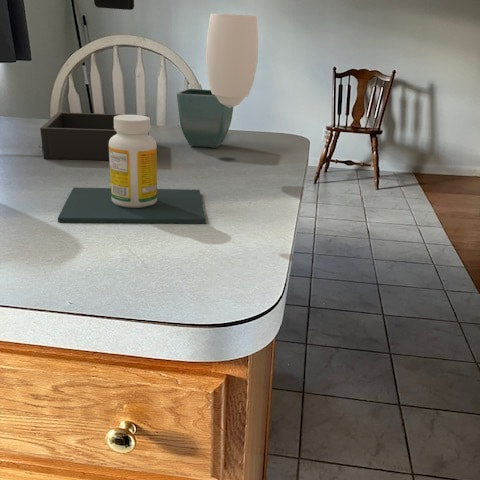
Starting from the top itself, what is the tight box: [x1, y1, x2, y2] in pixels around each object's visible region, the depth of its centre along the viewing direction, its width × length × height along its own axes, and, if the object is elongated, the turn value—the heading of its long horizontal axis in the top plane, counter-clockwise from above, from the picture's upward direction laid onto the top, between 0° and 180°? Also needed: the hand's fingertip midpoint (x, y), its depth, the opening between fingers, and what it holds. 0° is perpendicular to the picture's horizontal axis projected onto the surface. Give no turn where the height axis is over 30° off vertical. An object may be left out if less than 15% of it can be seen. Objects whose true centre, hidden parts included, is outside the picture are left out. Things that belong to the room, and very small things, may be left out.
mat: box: [57, 187, 207, 225], centre depth 65 cm, size 16×12×1 cm
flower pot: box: [176, 88, 234, 149], centre depth 96 cm, size 9×9×9 cm
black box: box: [39, 111, 150, 161], centre depth 90 cm, size 16×16×4 cm
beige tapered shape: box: [205, 12, 259, 108], centre depth 78 cm, size 7×7×21 cm
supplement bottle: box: [108, 114, 158, 208], centre depth 62 cm, size 5×5×10 cm
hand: (115, 8), depth 56 cm, fingers open, 9 cm apart
